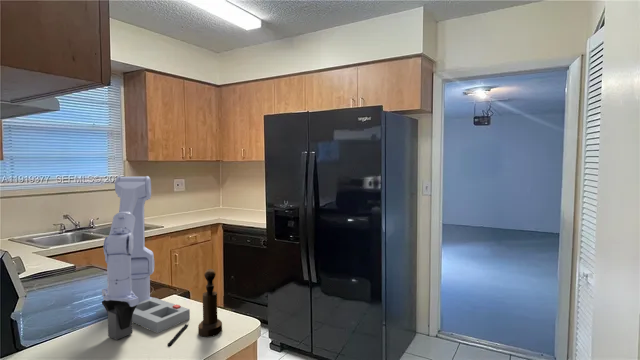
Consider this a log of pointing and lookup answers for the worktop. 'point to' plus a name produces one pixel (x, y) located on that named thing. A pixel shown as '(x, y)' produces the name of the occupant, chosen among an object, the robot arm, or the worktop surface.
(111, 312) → the plug
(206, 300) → the dark brown pepper mill
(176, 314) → the socket plate
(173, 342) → the thin black rod
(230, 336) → the worktop surface
